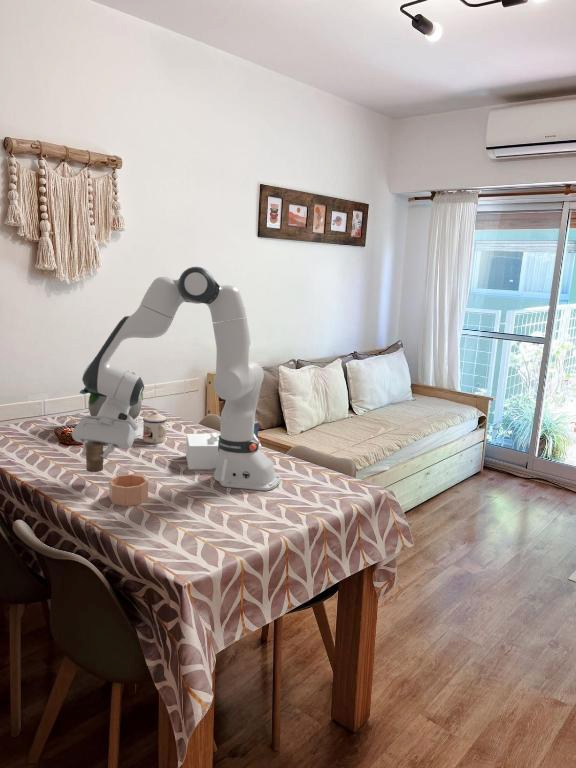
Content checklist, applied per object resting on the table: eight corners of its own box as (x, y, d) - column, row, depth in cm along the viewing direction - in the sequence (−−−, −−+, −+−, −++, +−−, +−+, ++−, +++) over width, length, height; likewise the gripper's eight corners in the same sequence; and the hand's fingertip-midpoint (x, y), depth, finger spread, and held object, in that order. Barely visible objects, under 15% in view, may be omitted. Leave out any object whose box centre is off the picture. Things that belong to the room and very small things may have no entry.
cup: (153, 495, 178) (153, 478, 177) (134, 508, 168) (135, 489, 167) (122, 489, 181) (122, 472, 180) (103, 501, 171) (103, 483, 170)
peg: (106, 467, 185) (106, 443, 184) (97, 473, 180) (96, 448, 179) (92, 465, 186) (92, 441, 185) (83, 470, 182) (82, 445, 180)
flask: (254, 441, 238) (255, 416, 235) (259, 443, 236) (261, 417, 234) (239, 446, 230) (240, 420, 228) (244, 448, 229) (246, 421, 226)
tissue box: (185, 456, 215) (186, 427, 213) (252, 455, 221) (254, 427, 219) (188, 470, 202) (189, 439, 200) (260, 468, 208) (261, 439, 206)
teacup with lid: (138, 439, 231) (138, 410, 229) (158, 435, 237) (159, 407, 235) (154, 447, 222) (154, 417, 220) (174, 443, 229) (175, 414, 226)
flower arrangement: (123, 439, 229) (124, 378, 224) (70, 429, 237) (70, 370, 232) (157, 424, 252) (158, 368, 247) (108, 416, 260) (108, 361, 255)
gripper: (79, 409, 189) (60, 447, 182) (135, 417, 184) (117, 456, 177) (87, 419, 195) (69, 456, 187) (142, 427, 189) (126, 465, 182)
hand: (93, 456), depth 182 cm, fingers closed on peg, 5 cm apart
